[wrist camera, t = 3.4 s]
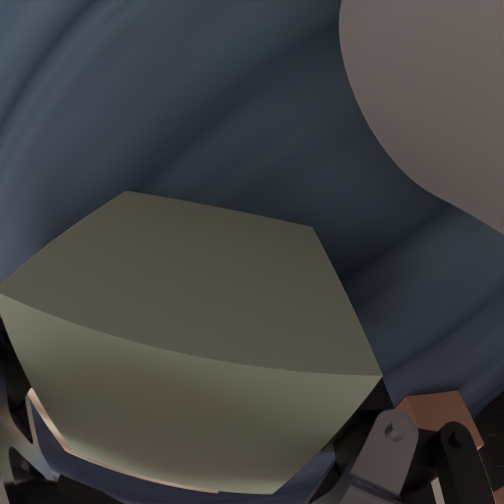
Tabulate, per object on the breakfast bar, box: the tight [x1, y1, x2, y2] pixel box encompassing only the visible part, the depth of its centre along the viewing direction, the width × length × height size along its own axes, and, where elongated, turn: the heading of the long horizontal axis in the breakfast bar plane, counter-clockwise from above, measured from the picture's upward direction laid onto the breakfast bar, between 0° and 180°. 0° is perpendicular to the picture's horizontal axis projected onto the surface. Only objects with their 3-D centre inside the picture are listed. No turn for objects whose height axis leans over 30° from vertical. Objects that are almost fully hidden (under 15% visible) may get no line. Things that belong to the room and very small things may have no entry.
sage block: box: [0, 191, 383, 494], centre depth 7 cm, size 6×6×6 cm
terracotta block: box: [395, 390, 484, 482], centre depth 12 cm, size 5×5×5 cm
